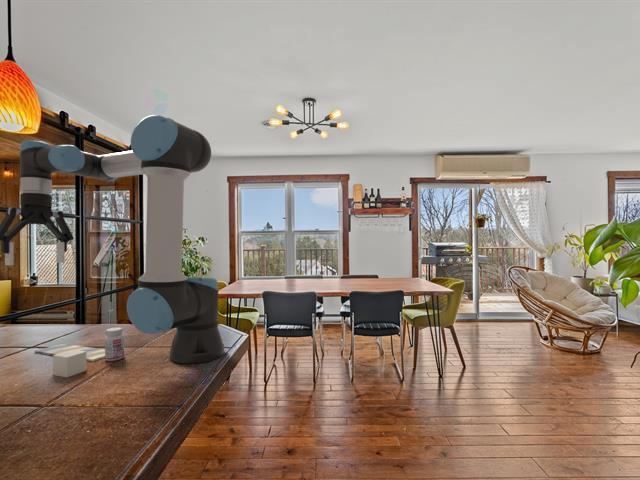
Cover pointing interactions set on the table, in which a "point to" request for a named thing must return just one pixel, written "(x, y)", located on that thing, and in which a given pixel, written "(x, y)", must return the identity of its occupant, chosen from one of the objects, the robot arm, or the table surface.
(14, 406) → the table surface
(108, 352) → the pill bottle
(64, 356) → the blank white cube
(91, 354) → the track
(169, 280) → the robot arm
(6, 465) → the table surface
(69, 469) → the table surface
